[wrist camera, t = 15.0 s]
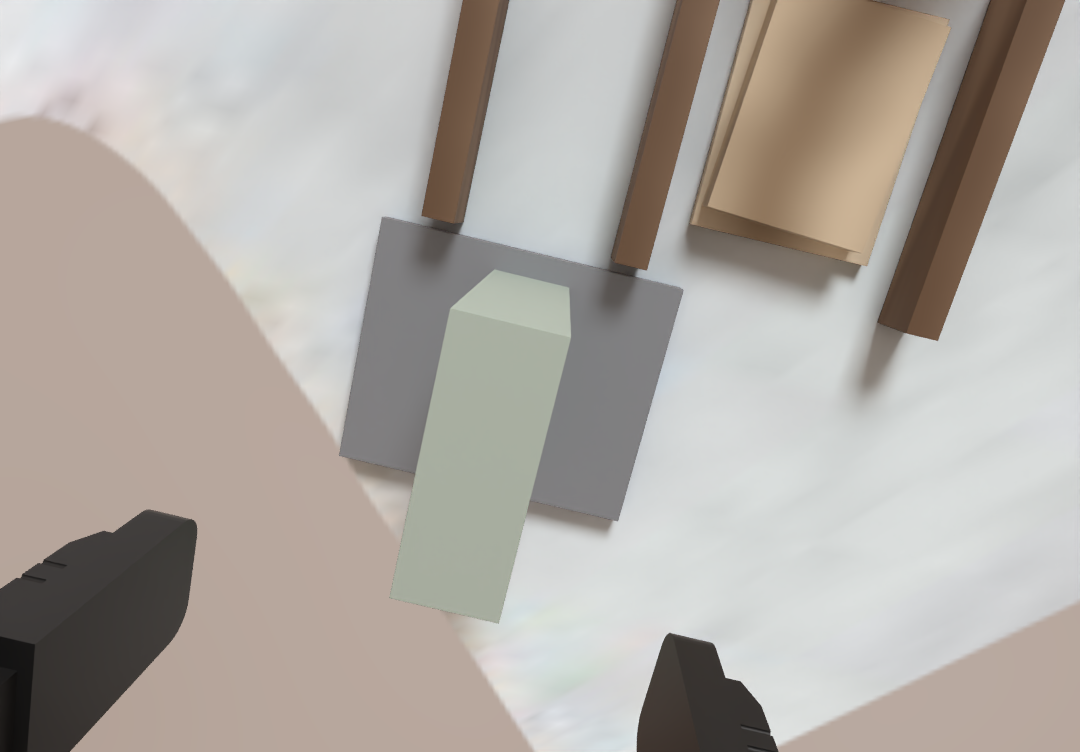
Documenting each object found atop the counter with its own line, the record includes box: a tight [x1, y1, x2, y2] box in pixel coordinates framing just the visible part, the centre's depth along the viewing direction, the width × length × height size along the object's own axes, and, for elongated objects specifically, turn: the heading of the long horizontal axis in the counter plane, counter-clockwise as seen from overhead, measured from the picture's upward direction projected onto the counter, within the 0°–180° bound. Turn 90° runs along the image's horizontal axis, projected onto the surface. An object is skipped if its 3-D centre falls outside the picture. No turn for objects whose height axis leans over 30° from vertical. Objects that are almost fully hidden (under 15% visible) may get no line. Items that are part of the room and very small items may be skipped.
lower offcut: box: [689, 0, 950, 266], centre depth 27 cm, size 7×9×1 cm
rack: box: [422, 0, 1065, 341], centre depth 26 cm, size 19×13×2 cm
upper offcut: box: [702, 0, 951, 253], centre depth 26 cm, size 6×8×1 cm
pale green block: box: [389, 269, 571, 624], centre depth 24 cm, size 3×8×11 cm, turn 166°
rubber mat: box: [339, 217, 683, 521], centre depth 29 cm, size 12×10×1 cm
